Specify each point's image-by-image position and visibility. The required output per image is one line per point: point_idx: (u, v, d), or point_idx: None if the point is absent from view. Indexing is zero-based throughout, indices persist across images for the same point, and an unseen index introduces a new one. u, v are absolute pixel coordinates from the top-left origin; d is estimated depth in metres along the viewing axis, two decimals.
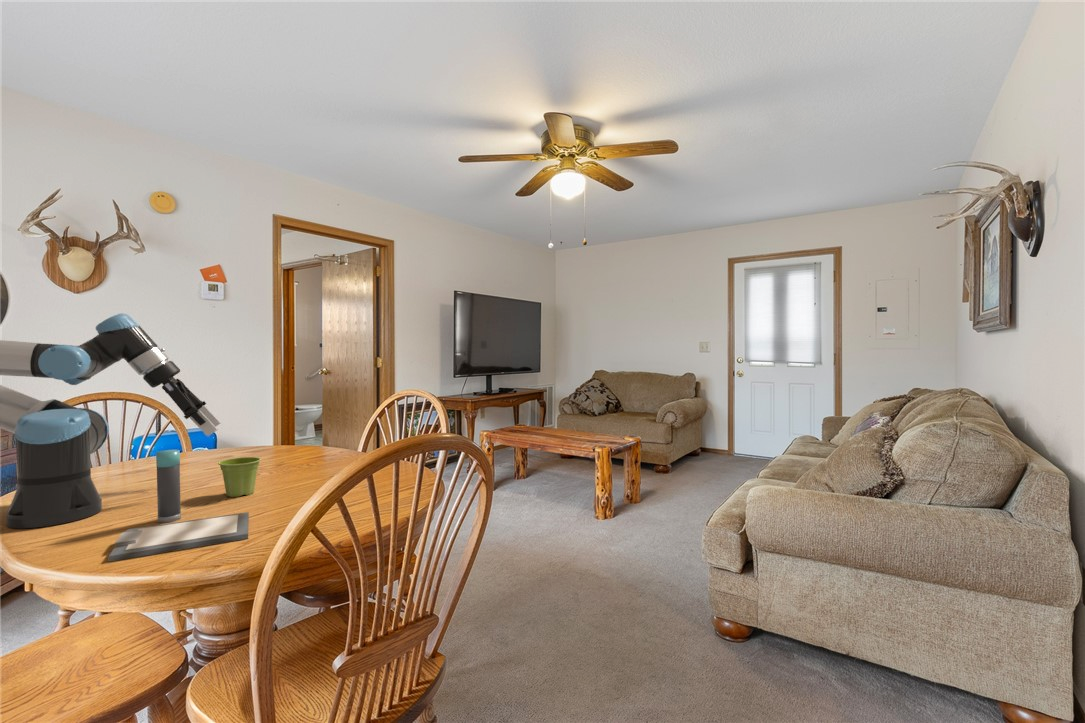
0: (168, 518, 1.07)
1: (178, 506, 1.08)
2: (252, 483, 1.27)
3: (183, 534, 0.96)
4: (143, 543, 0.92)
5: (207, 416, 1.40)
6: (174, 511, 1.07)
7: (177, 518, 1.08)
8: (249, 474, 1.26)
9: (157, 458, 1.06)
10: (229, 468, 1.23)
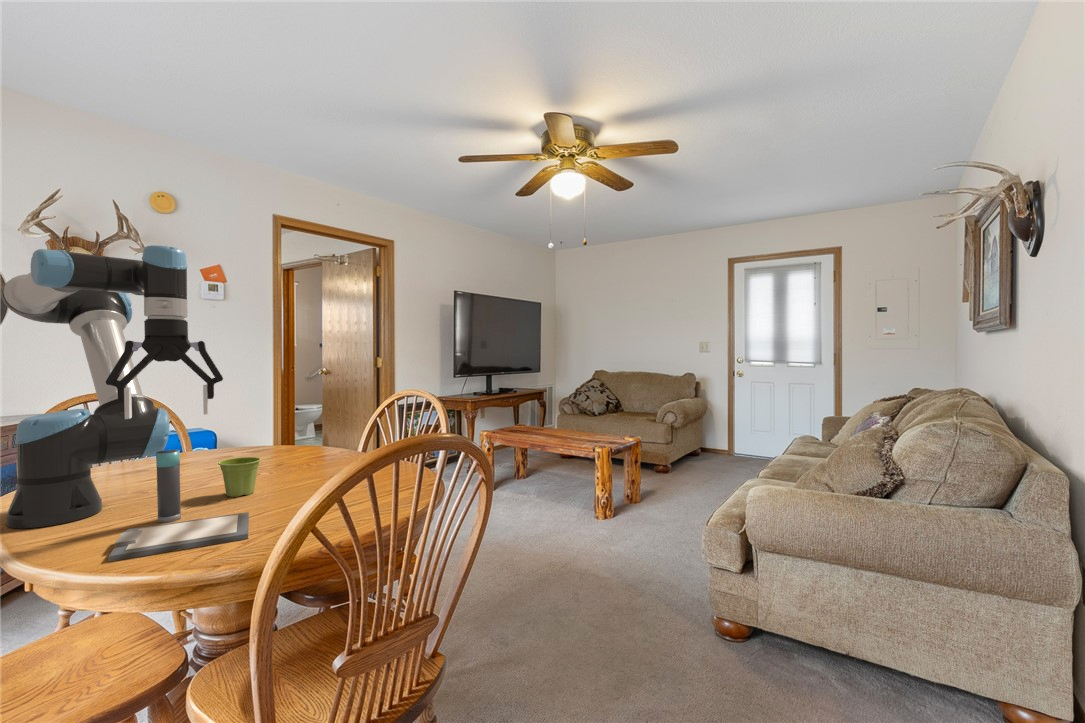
0: (168, 518, 1.07)
1: (178, 506, 1.08)
2: (252, 483, 1.27)
3: (183, 534, 0.96)
4: (143, 543, 0.92)
5: None
6: (174, 511, 1.07)
7: (177, 518, 1.08)
8: (249, 474, 1.26)
9: (157, 458, 1.06)
10: (229, 468, 1.23)
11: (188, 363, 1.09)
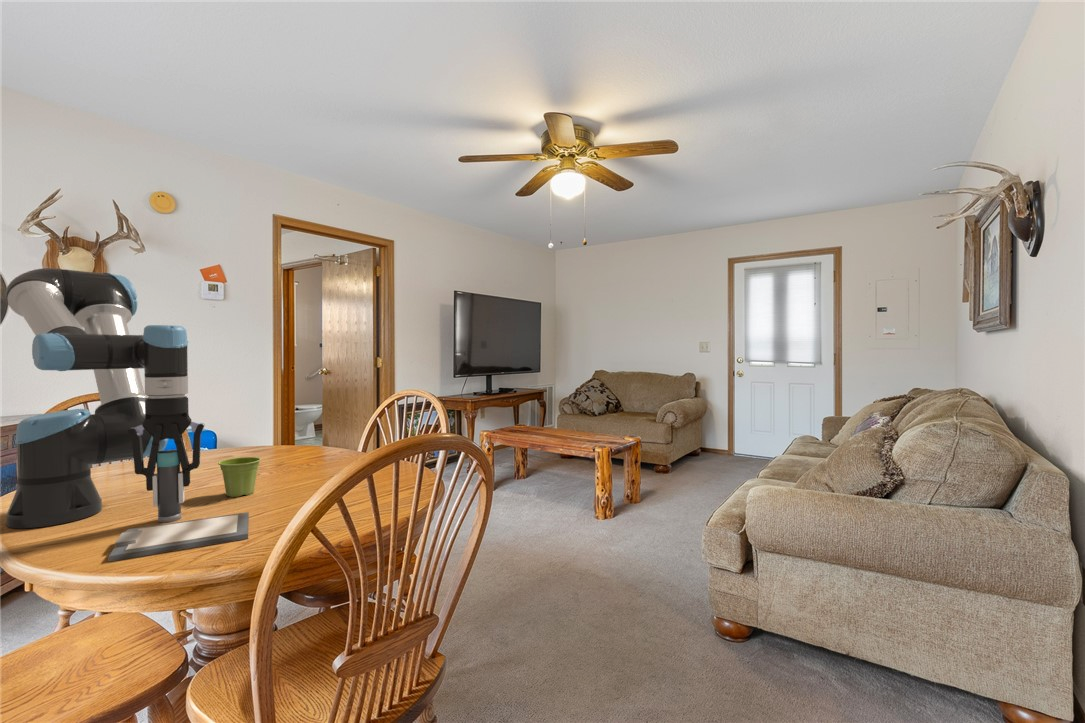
0: (168, 518, 1.07)
1: (178, 506, 1.08)
2: (252, 483, 1.27)
3: (183, 534, 0.96)
4: (143, 543, 0.92)
5: (179, 485, 1.09)
6: (174, 511, 1.07)
7: (177, 518, 1.08)
8: (249, 474, 1.26)
9: (157, 458, 1.06)
10: (229, 468, 1.23)
11: (177, 445, 1.08)
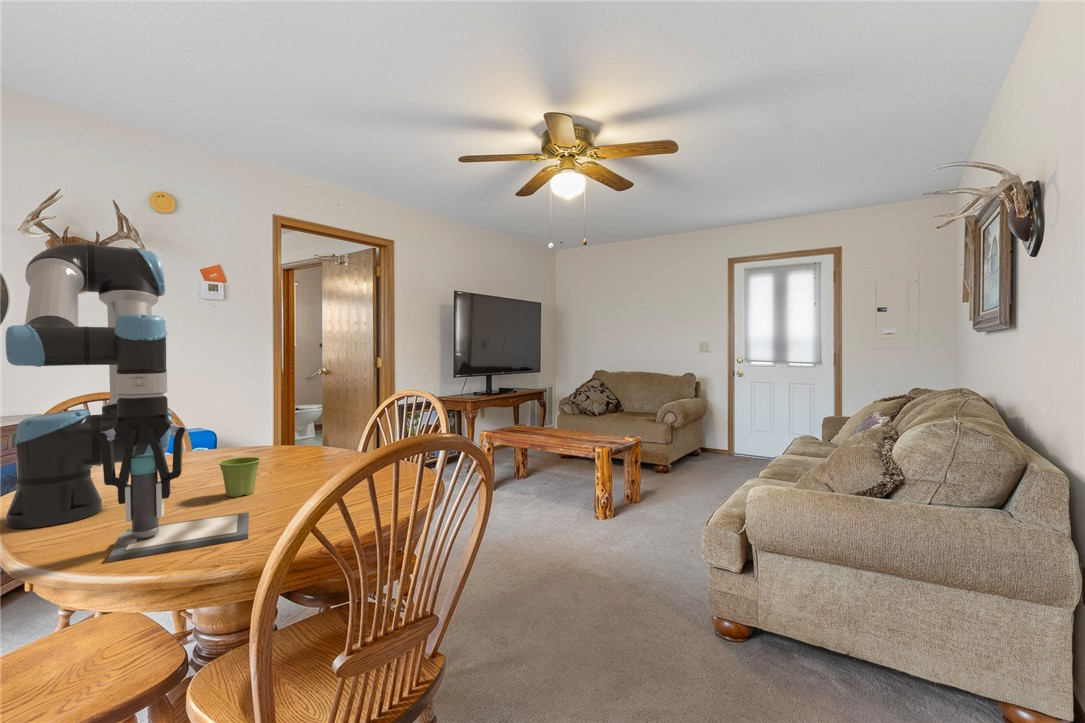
0: (143, 533, 0.93)
1: (155, 519, 0.95)
2: (252, 483, 1.27)
3: (183, 534, 0.96)
4: (143, 543, 0.92)
5: None
6: (150, 525, 0.94)
7: (154, 532, 0.94)
8: (249, 474, 1.26)
9: (131, 464, 0.93)
10: (229, 468, 1.23)
11: (155, 451, 0.94)
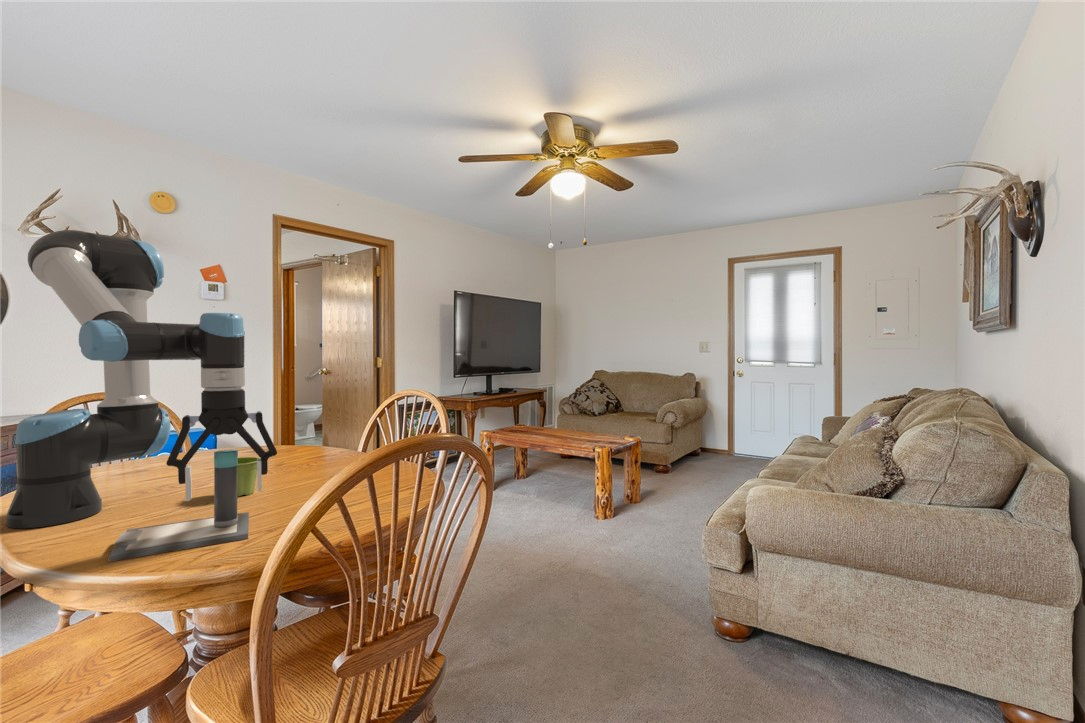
0: (225, 523, 1.00)
1: (235, 510, 1.02)
2: (252, 483, 1.27)
3: (183, 534, 0.96)
4: (143, 543, 0.92)
5: None
6: (231, 515, 1.01)
7: (234, 522, 1.01)
8: (249, 474, 1.26)
9: (215, 458, 1.00)
10: None
11: (244, 436, 1.02)
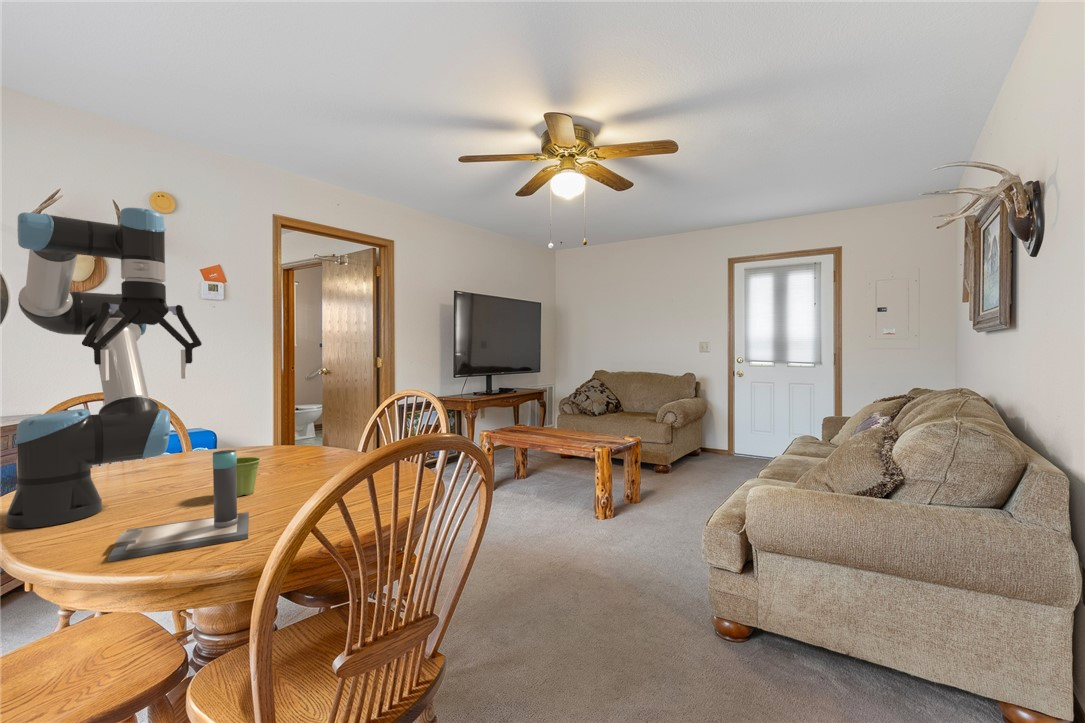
0: (225, 523, 1.00)
1: (235, 510, 1.02)
2: (252, 483, 1.27)
3: (183, 534, 0.96)
4: (143, 543, 0.92)
5: None
6: (231, 516, 1.01)
7: (234, 523, 1.01)
8: (249, 474, 1.26)
9: (214, 459, 1.00)
10: None
11: (166, 327, 1.09)
